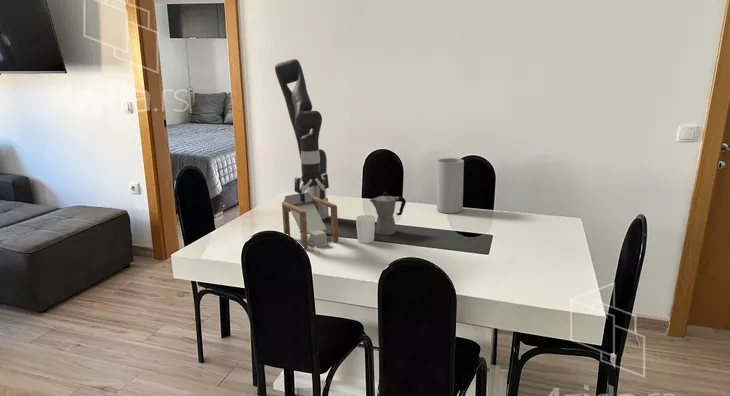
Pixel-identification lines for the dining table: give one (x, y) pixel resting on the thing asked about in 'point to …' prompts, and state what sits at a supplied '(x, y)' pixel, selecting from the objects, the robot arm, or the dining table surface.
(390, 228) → the coffeepot
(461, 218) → the dining table surface
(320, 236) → the gray cube
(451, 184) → the cylinder vase
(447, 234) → the dining table surface
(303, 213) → the frame
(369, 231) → the white cup
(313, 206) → the trapdoor
